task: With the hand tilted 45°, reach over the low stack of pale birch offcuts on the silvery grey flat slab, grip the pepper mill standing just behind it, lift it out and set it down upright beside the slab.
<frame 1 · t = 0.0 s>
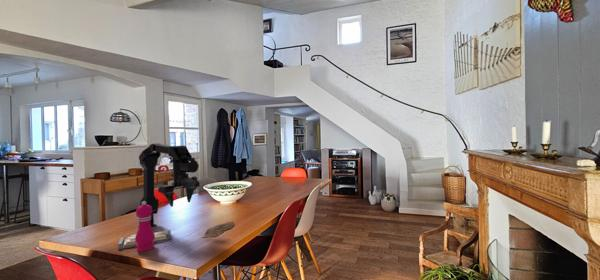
hand: (180, 204, 129), 15 cm above the table, tool pointing down, fingers open, 9 cm apart
pepper mill: (145, 248, 114), on the table
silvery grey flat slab: (146, 238, 121), on the table
birch offcut stack: (146, 237, 121), point 1 cm above the table
wooden fragment: (220, 229, 136), on the table
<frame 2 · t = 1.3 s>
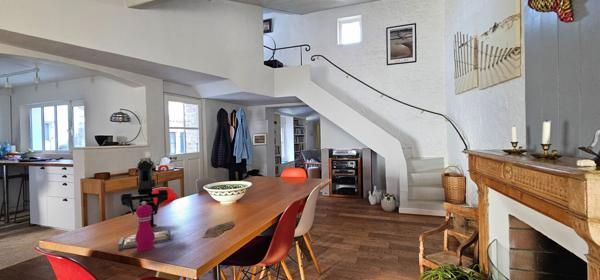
hand: (145, 212, 120), 13 cm above the table, tool tilted 45°, fingers open, 9 cm apart
nothing on the table moved.
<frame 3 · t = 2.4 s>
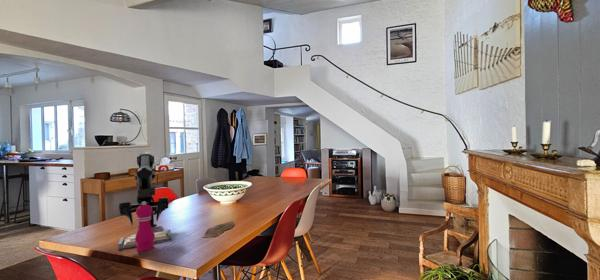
hand: (144, 222, 114), 11 cm above the table, tool tilted 45°, fingers open, 9 cm apart
nothing on the table moved.
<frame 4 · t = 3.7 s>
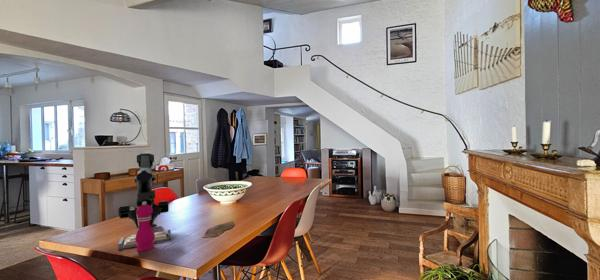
hand: (144, 226, 112), 10 cm above the table, tool tilted 45°, fingers closed on pepper mill, 5 cm apart
pepper mill: (145, 248, 114), on the table, touching gripper
everything else where it was.
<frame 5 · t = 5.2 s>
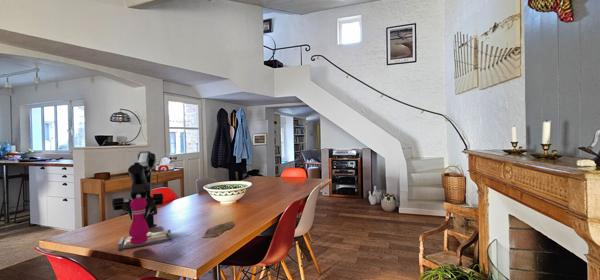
hand: (138, 218, 112), 13 cm above the table, tool tilted 45°, fingers closed on pepper mill, 5 cm apart
pepper mill: (139, 242, 113), point 3 cm above the table, touching gripper
everything else where it was.
when the fingers open (11 cm above the table, at t = 6.9 s): pepper mill stays where it is, on the table.
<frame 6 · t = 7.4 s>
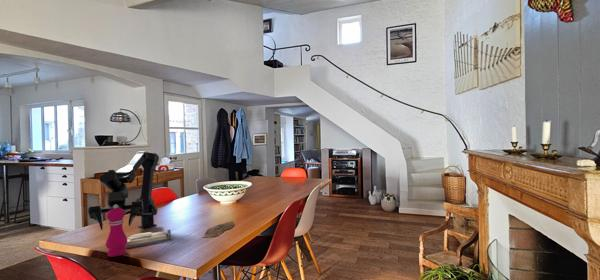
hand: (115, 227, 108), 11 cm above the table, tool tilted 45°, fingers open, 9 cm apart
pepper mill: (117, 253, 109), on the table
everything else where it was.
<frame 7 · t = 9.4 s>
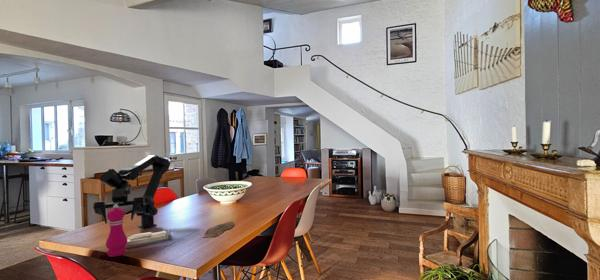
hand: (119, 221, 116), 11 cm above the table, tool tilted 45°, fingers open, 9 cm apart
nothing on the table moved.
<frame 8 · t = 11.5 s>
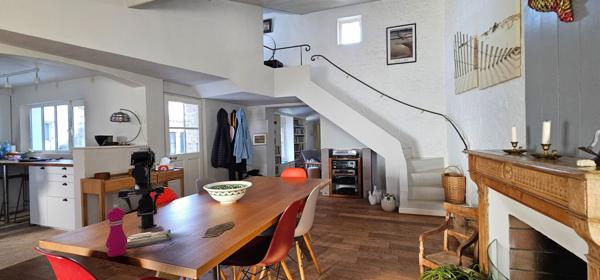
hand: (142, 209, 127), 13 cm above the table, tool pointing down, fingers open, 9 cm apart
nothing on the table moved.
at the end: pepper mill 0.2 cm from the target spot, on the table; pepper mill tilted 0°; the gripper is holding nothing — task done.
